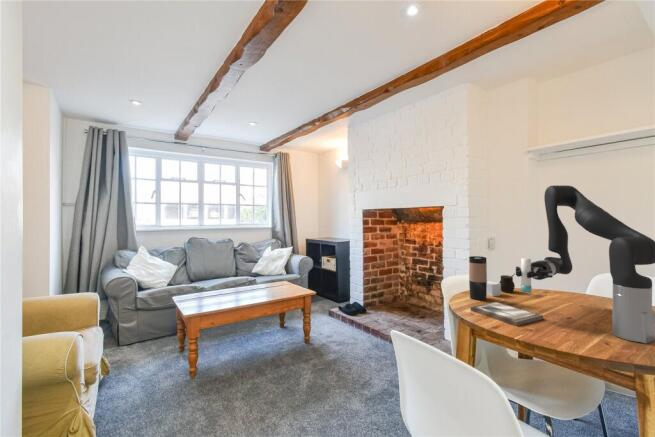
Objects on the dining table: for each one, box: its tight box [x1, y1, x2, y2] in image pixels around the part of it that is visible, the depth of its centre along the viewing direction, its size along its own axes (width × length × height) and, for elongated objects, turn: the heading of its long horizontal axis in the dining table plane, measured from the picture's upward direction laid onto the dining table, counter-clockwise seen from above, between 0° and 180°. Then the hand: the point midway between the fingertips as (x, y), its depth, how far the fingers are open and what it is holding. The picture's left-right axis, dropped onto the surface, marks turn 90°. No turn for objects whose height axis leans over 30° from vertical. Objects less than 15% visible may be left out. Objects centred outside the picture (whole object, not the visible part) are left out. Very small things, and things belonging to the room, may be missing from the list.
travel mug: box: [468, 255, 488, 301], centre depth 147 cm, size 8×8×20 cm
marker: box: [520, 257, 532, 294], centre depth 120 cm, size 3×3×13 cm
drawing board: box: [470, 301, 544, 327], centre depth 124 cm, size 20×16×2 cm
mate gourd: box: [498, 273, 516, 293], centre depth 159 cm, size 7×8×10 cm
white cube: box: [486, 280, 502, 297], centre depth 154 cm, size 6×6×6 cm
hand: (522, 274), depth 118 cm, fingers closed on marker, 3 cm apart
